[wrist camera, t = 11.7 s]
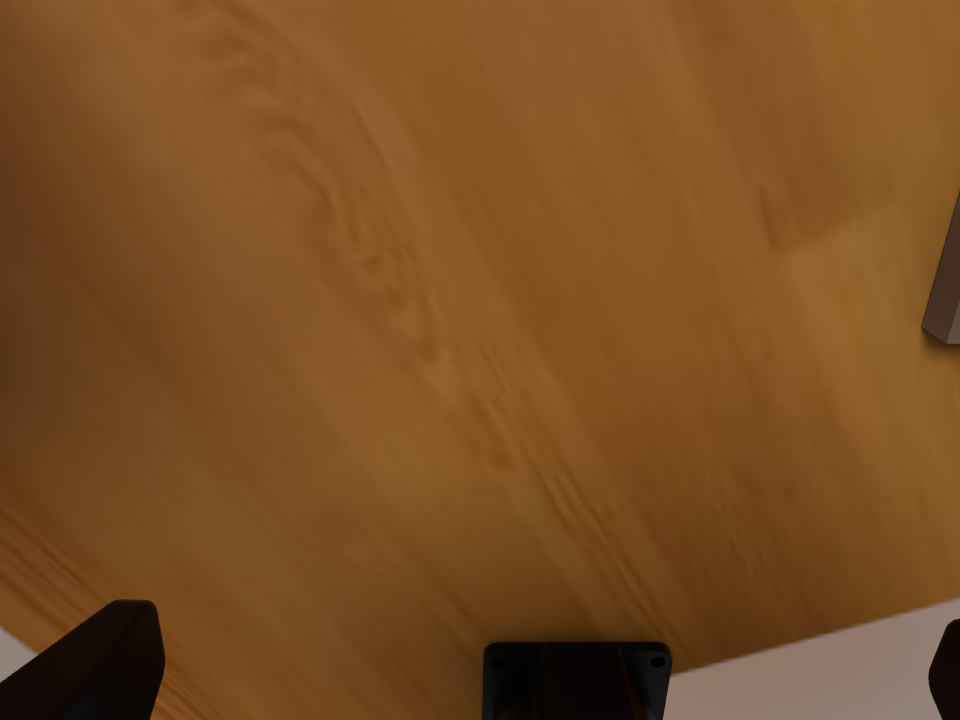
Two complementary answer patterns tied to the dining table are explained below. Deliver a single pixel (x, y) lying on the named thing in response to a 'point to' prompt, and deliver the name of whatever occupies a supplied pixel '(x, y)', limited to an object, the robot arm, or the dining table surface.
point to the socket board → (946, 289)
